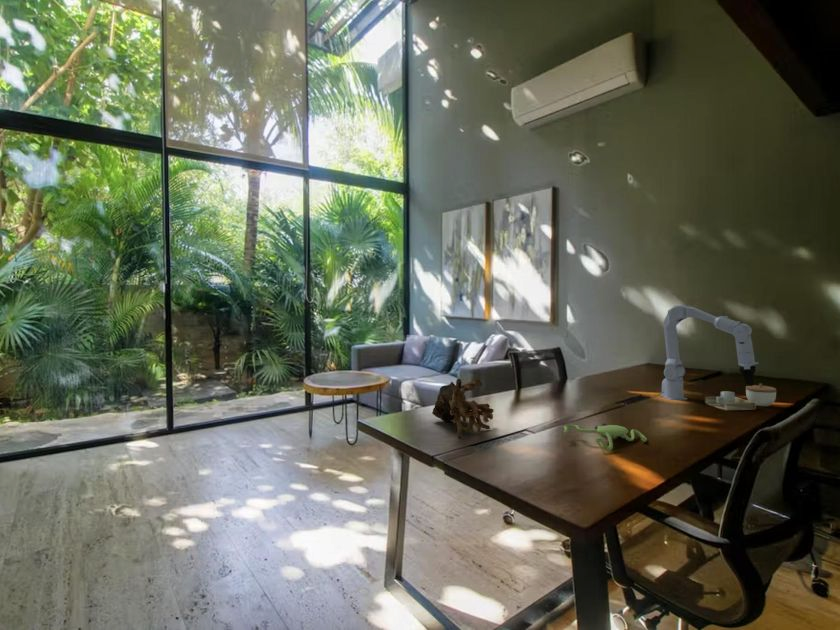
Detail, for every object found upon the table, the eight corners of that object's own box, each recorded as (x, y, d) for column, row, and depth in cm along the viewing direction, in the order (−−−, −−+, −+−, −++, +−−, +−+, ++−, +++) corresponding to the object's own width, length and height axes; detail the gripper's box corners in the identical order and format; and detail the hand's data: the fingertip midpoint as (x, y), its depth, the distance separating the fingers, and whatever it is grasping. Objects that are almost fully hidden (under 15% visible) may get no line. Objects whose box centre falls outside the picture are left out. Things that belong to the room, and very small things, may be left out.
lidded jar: (765, 402, 200) (765, 381, 200) (782, 408, 189) (782, 386, 189) (740, 402, 201) (740, 381, 201) (755, 408, 190) (755, 386, 190)
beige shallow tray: (703, 403, 200) (703, 396, 200) (732, 402, 201) (732, 395, 201) (725, 411, 187) (725, 403, 187) (755, 410, 187) (755, 403, 187)
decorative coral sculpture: (457, 394, 194) (513, 391, 172) (446, 447, 184) (503, 450, 162) (415, 371, 181) (470, 364, 159) (400, 426, 171) (456, 427, 149)
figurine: (555, 441, 155) (554, 425, 155) (607, 428, 168) (607, 413, 168) (598, 457, 139) (598, 439, 139) (653, 441, 152) (653, 425, 151)
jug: (713, 405, 196) (713, 391, 196) (729, 404, 196) (729, 390, 196) (721, 407, 191) (721, 393, 191) (737, 407, 191) (737, 393, 191)
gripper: (757, 353, 181) (762, 386, 181) (756, 350, 193) (761, 381, 192) (735, 354, 185) (740, 387, 185) (736, 351, 197) (741, 382, 196)
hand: (749, 384), depth 189 cm, fingers open, 7 cm apart
